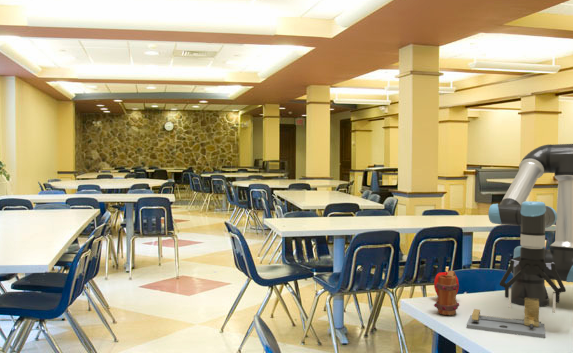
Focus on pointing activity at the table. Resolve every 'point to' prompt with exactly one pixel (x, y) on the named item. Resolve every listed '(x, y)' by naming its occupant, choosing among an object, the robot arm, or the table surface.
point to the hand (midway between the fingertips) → (531, 309)
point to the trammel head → (531, 312)
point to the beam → (494, 318)
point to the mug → (447, 294)
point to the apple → (437, 281)
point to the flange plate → (506, 327)
